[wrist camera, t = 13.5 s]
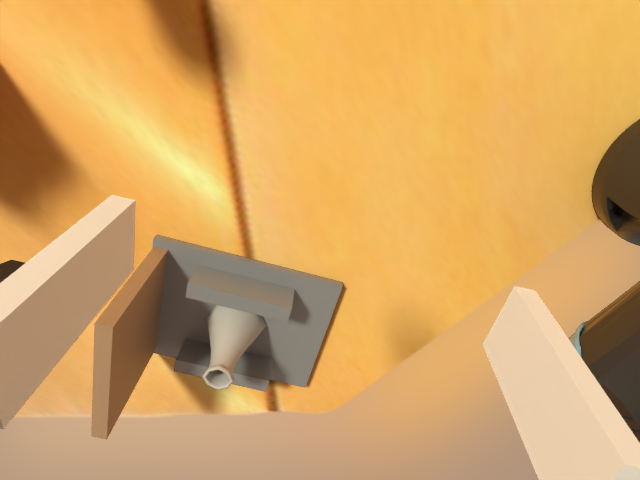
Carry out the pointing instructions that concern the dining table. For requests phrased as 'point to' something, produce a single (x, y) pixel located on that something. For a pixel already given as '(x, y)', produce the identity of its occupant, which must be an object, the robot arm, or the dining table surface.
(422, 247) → the dining table surface
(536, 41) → the dining table surface
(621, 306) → the robot arm
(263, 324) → the flask
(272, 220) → the dining table surface
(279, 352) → the shaker holder
